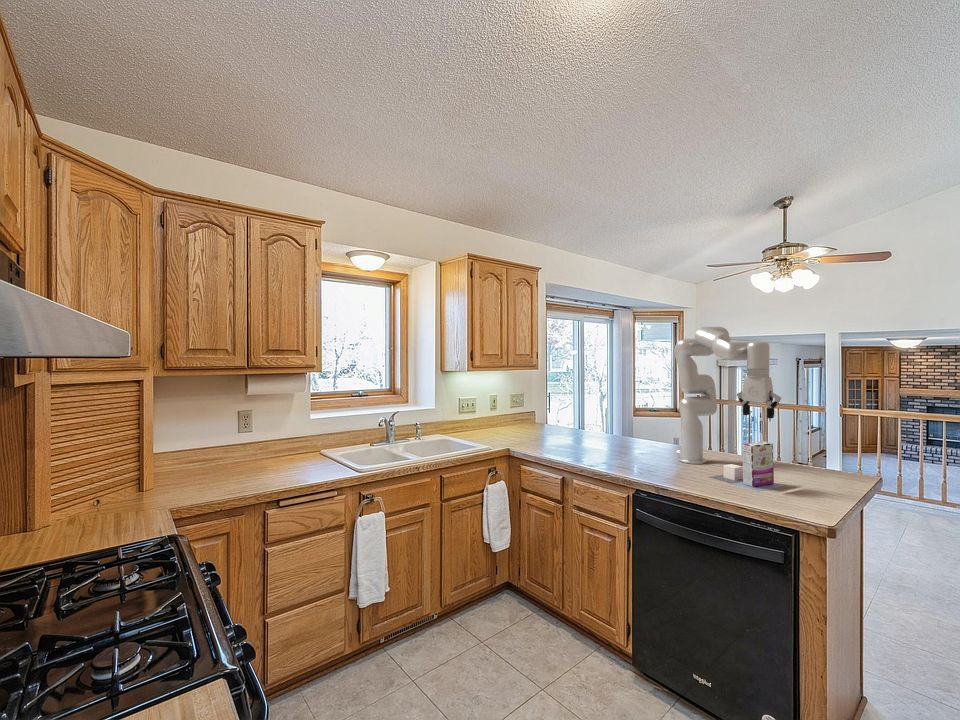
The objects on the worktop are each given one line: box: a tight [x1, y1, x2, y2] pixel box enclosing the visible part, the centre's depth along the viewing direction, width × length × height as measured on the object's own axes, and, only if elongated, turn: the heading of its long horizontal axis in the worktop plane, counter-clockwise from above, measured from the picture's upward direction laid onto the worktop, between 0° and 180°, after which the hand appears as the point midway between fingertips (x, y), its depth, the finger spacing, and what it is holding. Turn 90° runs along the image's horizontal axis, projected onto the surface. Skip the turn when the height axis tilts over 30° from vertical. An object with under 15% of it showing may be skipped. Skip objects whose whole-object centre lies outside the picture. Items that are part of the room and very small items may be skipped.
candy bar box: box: [741, 441, 775, 487], centre depth 179 cm, size 11×5×16 cm, turn 108°
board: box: [708, 473, 786, 492], centre depth 184 cm, size 22×16×1 cm
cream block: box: [722, 463, 743, 480], centre depth 189 cm, size 5×5×5 cm
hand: (758, 416), depth 179 cm, fingers open, 9 cm apart
